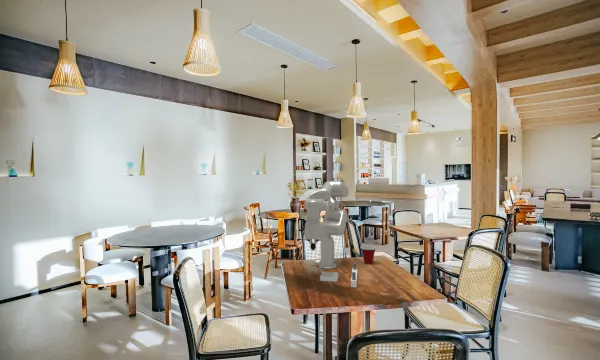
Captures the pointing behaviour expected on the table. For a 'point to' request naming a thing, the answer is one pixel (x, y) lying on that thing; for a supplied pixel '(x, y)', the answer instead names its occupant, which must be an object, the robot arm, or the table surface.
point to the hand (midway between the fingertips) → (313, 249)
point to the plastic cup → (368, 253)
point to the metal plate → (329, 276)
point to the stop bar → (354, 276)
